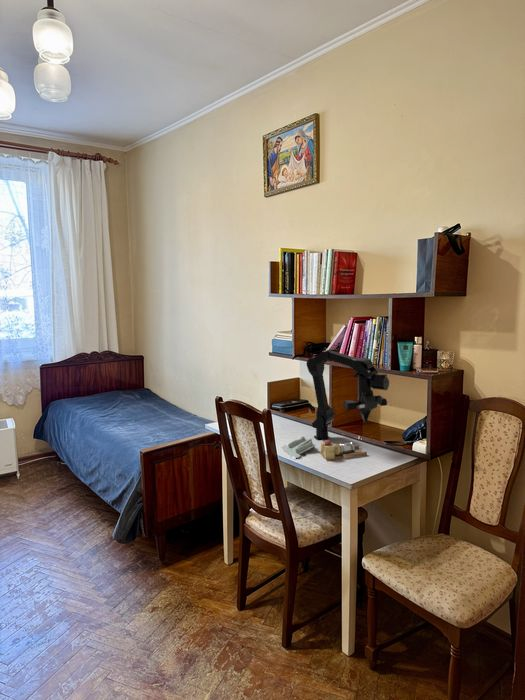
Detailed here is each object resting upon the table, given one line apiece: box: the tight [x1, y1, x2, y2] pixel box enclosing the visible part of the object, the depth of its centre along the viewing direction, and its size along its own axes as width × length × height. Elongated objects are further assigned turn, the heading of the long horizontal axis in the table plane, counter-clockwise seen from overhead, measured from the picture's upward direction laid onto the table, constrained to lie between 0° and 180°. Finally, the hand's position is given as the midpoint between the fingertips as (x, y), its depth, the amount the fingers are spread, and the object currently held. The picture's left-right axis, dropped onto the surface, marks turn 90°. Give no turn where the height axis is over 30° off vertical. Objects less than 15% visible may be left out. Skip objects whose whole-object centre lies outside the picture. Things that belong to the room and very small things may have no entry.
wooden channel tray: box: [319, 439, 368, 463], centre depth 204 cm, size 10×18×7 cm, turn 103°
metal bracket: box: [280, 435, 317, 459], centre depth 213 cm, size 14×6×15 cm
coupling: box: [338, 441, 355, 455], centre depth 205 cm, size 5×6×5 cm
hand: (365, 421), depth 210 cm, fingers closed
